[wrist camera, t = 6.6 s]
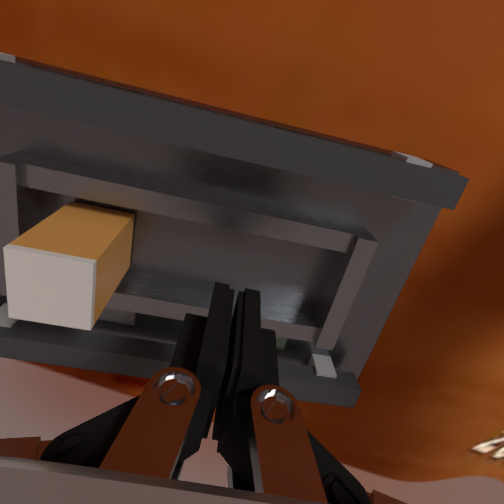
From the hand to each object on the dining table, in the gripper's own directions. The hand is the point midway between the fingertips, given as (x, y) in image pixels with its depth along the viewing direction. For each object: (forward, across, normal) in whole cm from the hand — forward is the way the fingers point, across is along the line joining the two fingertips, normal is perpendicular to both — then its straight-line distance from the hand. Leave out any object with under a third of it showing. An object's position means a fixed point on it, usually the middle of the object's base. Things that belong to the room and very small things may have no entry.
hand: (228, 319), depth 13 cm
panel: (+9, +2, +1) cm, 9 cm away
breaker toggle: (+6, +7, +1) cm, 9 cm away
